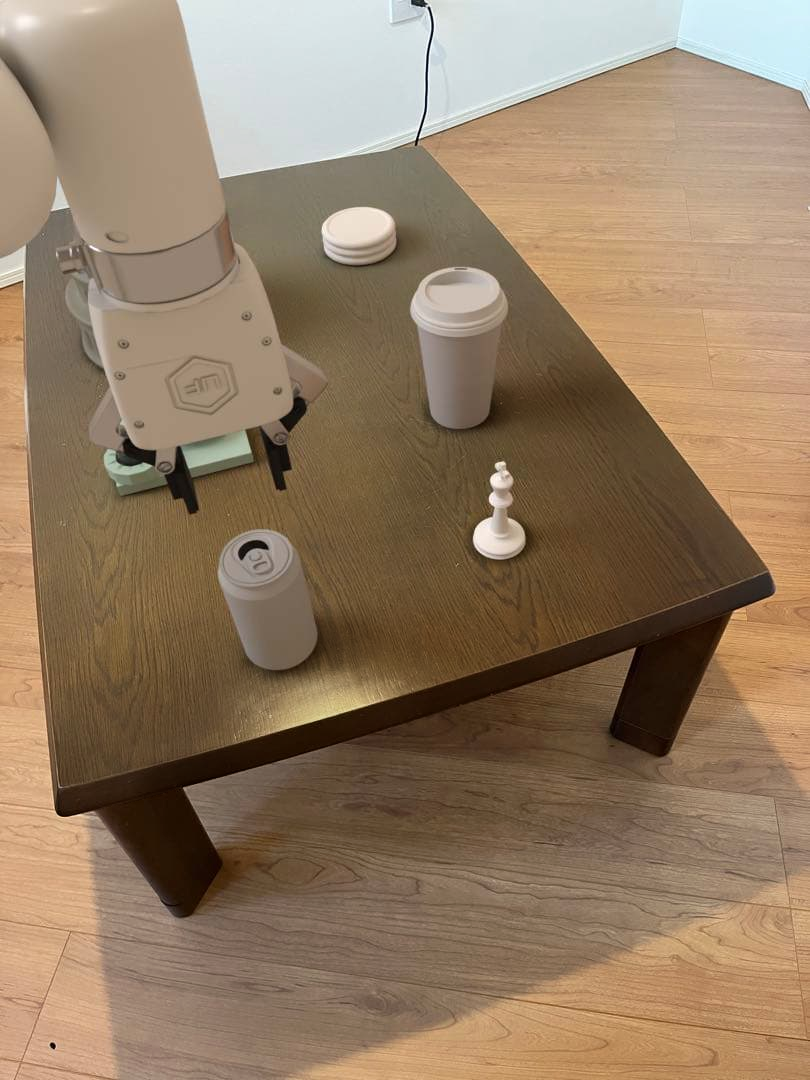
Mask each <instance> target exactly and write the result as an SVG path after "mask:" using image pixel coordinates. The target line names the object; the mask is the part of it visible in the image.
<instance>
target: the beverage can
mask: <svg viewBox="0 0 810 1080" xmlns="http://www.w3.org/2000/svg"><path fill="white" fill-rule="evenodd" d="M217 579H218V582H219V584H220V587H221V589H222V592H223V595H224V598H225V600H226V604H227V606H228V609H229V612H230V614H231V617H232V620H233V623H234V625H235V628H236V631H237V633H238V637H239V639H240V641H241V644H242V647H243V649H244V652H245V654H246V656H247V658H248V659H249V660H250V661H251V662H252V663H253V664H255V665H256V666H258V667H259V668H262V669H264V670H269V671H283V670H288V669H291V668H294V667H296V666H298V665H300V664H301V663H303V662H304V661H306V659H308V657H310V655H311V654H312V652H313V651H314V649H315V648H316V645H317V641H318V629H317V624H316V619H315V615H314V612H313V607H312V602H311V600H310V595H309V591H308V587H307V583H306V578H305V574H304V570H303V566H302V561H301V557H300V554H299V552H298V551H297V549H296V548H295V546H293V544H291V542H290V540H289V539H288V538H287V537H286V536H285V535H283V534H282V533H280V532H278V531H276V530H273V529H267V528H266V529H265V528H264V529H263V528H261V529H257V528H256V529H251V530H249V531H245V532H242V533H240V534H238V535H236V536H235V537H233V538H232V539H231V540H230V541H228V543H226V544H225V546H224V548H222V550H221V552H220V555H219V560H218V570H217Z"/></svg>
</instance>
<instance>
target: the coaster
mask: <svg viewBox="0 0 810 1080" xmlns="http://www.w3.org/2000/svg"><path fill="white" fill-rule="evenodd" d="M321 235H322V243H323V250H324V253H325V254H326V255H327V257H329V258H330V259H331V260H332V261H335V262H336V263H339V264H342V265H348V266H366V265H371V264H374V263H378V262H381V261H383V260H384V259H386V258H387V257H389V256H390V255H391V254H392V253H393V252H394V250H395V249H396V246H397V237H396V236H397V232H396V222H395V219H394V218H393V216H391V215H390V214H389V213H388V212H386V211H385V210H382V209H379V208H375V207H371V206H357V207H349V208H345V209H342V210H339V211H337V212H334V213H332V215H329V217H327V218H326V219H325V221H324V222H323V223H322V225H321Z"/></svg>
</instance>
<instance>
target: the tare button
mask: <svg viewBox="0 0 810 1080" xmlns="http://www.w3.org/2000/svg"><path fill="white" fill-rule="evenodd" d="M116 454H117V456H118V458H119V460H120V462H121V463H122V464H123V465H125V466H135V465H139V464H142V463H143V462H141V461H138V460H135V459H133V458H130V457H128V456H126V455H125V454H124V452H122V451H119V450H118V451H116Z"/></svg>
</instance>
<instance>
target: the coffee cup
mask: <svg viewBox="0 0 810 1080" xmlns="http://www.w3.org/2000/svg"><path fill="white" fill-rule="evenodd" d="M409 308H410V309H409V311H410V312H409V313H410V316H411V318H412V320H413V322H414V323H415V324H416V327H417V335H418V341H419V346H420V353H421V359H422V365H423V372H424V378H425V385H426V386H425V387H426V391H427V399H428V405H429V412H430V416H431V417H432V419H433V421H435V422H436V423H437V424H439V425H440V426H442V427H444V428H448V429H453V430H466V429H471V428H474V427H476V426H478V425H481V424H482V423H483V422H485V420H486V419H487V418H488V416H489V414H490V411H491V408H490V407H491V403H492V395H493V394H492V393H493V388H494V379H495V373H496V364H497V357H498V350H499V345H500V337H501V336H500V335H501V329H502V324H503V323H502V322H503V321H504V320H505V318H506V317H507V315H508V313H509V303H508V299H507V296H506V295H505V292H504V290H503V289H502V288H501V286H500V283H499V281H498V280H497V279H496V278H495V276H494V275H492V274H491V273H489V272H488V271H485V270H482V269H479V268H474V267H470V266H469V267H467V266H452V267H447V268H442V269H439V270H436V271H434V272H432V273H430V274H428V275H427V276H426V277H424V278H423V279H422V280H421V281H420V283H419V285H418V287H417V290H416V291H415V293H414V294H413V296H412V300H411V303H410V307H409Z"/></svg>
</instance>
